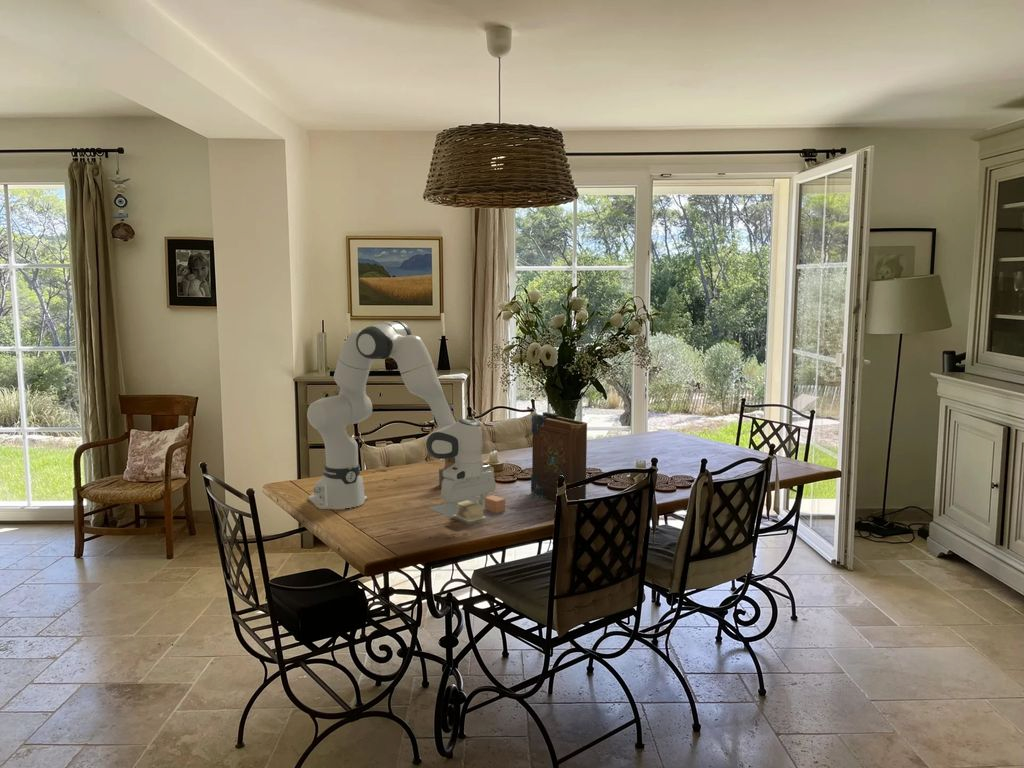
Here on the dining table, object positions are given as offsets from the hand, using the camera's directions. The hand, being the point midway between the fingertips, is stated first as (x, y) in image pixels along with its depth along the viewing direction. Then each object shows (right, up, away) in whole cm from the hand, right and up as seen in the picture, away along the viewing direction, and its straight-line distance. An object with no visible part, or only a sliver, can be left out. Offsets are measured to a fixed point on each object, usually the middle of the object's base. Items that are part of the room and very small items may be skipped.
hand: (469, 509), depth 246 cm
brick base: (0, -2, 0) cm, 2 cm away
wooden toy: (-6, +2, +44) cm, 45 cm away
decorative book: (+31, -1, +25) cm, 40 cm away
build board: (+1, -3, +7) cm, 8 cm away
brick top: (+8, -1, +7) cm, 11 cm away
